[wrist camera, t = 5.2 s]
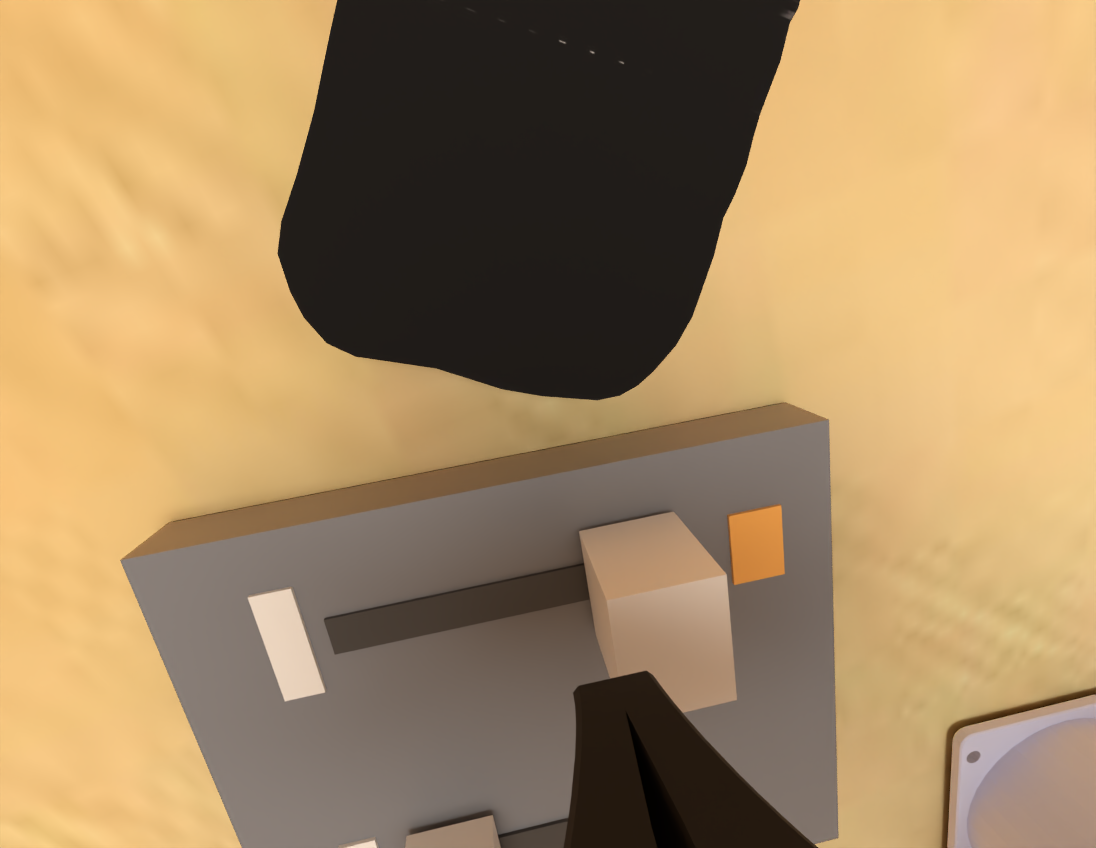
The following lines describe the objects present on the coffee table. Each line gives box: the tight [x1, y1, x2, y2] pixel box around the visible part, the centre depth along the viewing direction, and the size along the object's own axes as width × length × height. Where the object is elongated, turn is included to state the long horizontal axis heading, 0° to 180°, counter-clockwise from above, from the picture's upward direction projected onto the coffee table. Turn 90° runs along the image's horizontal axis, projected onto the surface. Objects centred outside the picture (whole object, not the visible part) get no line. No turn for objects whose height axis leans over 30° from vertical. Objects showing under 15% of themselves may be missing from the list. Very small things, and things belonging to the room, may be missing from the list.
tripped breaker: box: [579, 512, 737, 713], centre depth 12 cm, size 3×2×3 cm
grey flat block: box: [120, 403, 838, 848], centre depth 16 cm, size 14×17×2 cm
